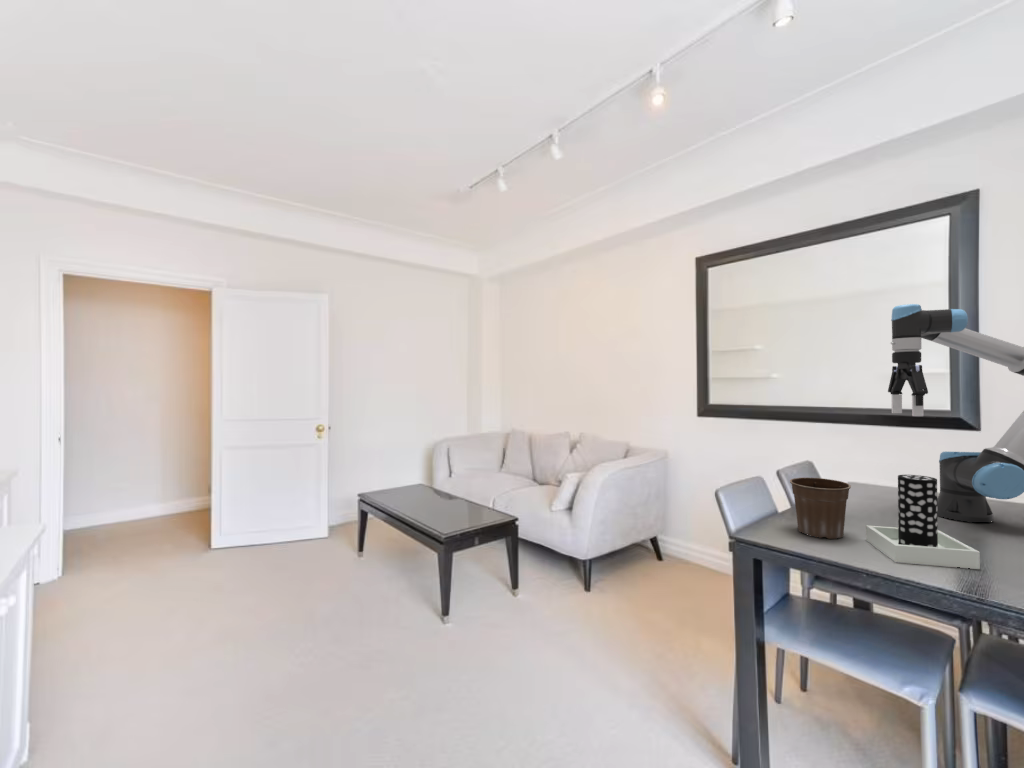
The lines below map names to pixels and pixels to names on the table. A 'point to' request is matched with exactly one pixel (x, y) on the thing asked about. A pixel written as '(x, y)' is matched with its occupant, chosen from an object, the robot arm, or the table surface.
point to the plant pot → (820, 506)
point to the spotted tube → (917, 511)
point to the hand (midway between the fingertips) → (906, 414)
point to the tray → (923, 549)
